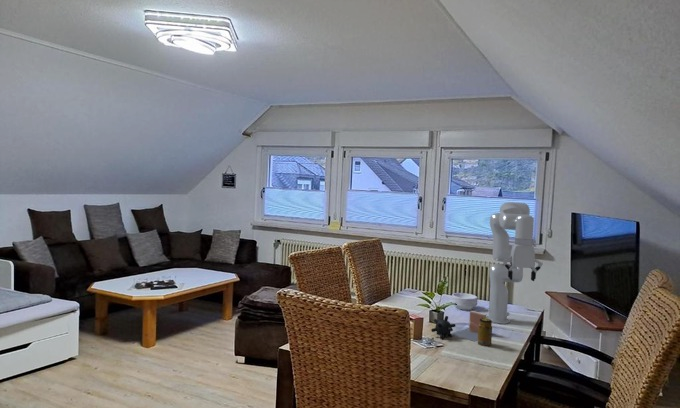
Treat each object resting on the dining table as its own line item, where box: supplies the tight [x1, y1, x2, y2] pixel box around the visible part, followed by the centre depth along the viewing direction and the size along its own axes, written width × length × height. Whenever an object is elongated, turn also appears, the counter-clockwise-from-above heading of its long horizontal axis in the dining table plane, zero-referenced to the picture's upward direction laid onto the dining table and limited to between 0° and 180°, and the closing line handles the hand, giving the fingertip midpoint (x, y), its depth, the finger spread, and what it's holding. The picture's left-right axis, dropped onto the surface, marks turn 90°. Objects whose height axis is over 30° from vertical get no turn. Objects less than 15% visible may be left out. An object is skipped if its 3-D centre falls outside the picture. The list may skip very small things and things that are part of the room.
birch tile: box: [468, 310, 487, 334], centre depth 229 cm, size 2×8×10 cm, turn 42°
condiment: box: [477, 318, 493, 347], centre depth 211 cm, size 7×8×12 cm
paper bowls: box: [451, 292, 478, 311], centre depth 281 cm, size 15×15×8 cm
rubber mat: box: [450, 327, 497, 343], centre depth 227 cm, size 20×14×1 cm
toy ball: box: [431, 315, 457, 340], centre depth 221 cm, size 11×11×12 cm
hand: (521, 279), depth 209 cm, fingers open, 9 cm apart
